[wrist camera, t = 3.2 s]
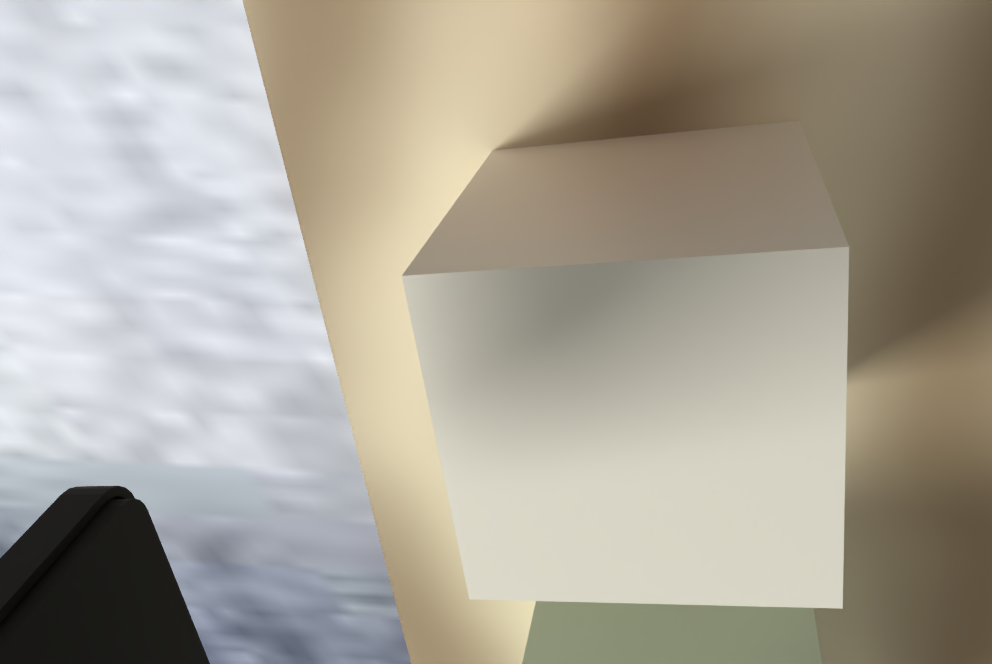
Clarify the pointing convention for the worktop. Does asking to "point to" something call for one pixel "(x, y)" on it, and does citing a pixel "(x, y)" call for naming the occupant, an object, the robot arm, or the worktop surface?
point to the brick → (670, 634)
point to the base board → (648, 111)
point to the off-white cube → (642, 370)
